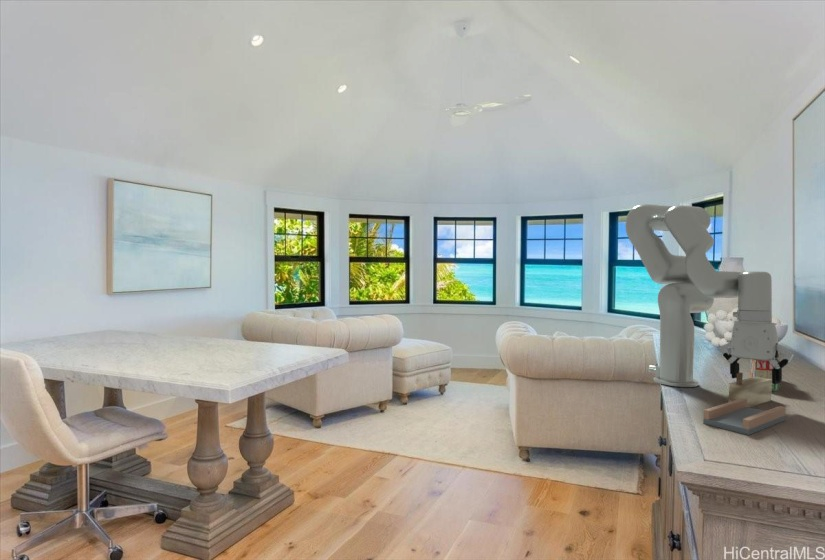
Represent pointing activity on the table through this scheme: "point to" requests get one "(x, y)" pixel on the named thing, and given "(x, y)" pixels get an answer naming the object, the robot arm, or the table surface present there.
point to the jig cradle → (742, 417)
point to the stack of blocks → (763, 370)
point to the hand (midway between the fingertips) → (755, 380)
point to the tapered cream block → (751, 390)
